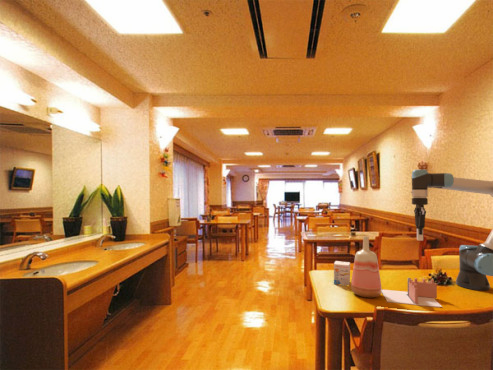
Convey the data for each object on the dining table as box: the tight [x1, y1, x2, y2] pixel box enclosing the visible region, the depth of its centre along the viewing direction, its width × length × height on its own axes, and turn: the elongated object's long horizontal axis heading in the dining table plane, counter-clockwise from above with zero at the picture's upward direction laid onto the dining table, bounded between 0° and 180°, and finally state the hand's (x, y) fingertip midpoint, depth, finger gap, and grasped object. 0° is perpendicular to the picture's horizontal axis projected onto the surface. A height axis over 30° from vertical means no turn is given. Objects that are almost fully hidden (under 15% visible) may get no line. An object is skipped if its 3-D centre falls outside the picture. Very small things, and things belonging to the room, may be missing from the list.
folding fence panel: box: [409, 278, 418, 304], centre depth 140 cm, size 11×1×9 cm, turn 165°
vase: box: [350, 235, 382, 299], centre depth 148 cm, size 14×14×30 cm
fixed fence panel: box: [407, 277, 438, 299], centre depth 145 cm, size 13×1×9 cm, turn 74°
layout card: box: [381, 289, 443, 308], centre depth 143 cm, size 23×18×1 cm
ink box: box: [333, 260, 351, 286], centre depth 167 cm, size 9×8×12 cm
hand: (420, 240), depth 159 cm, fingers closed
